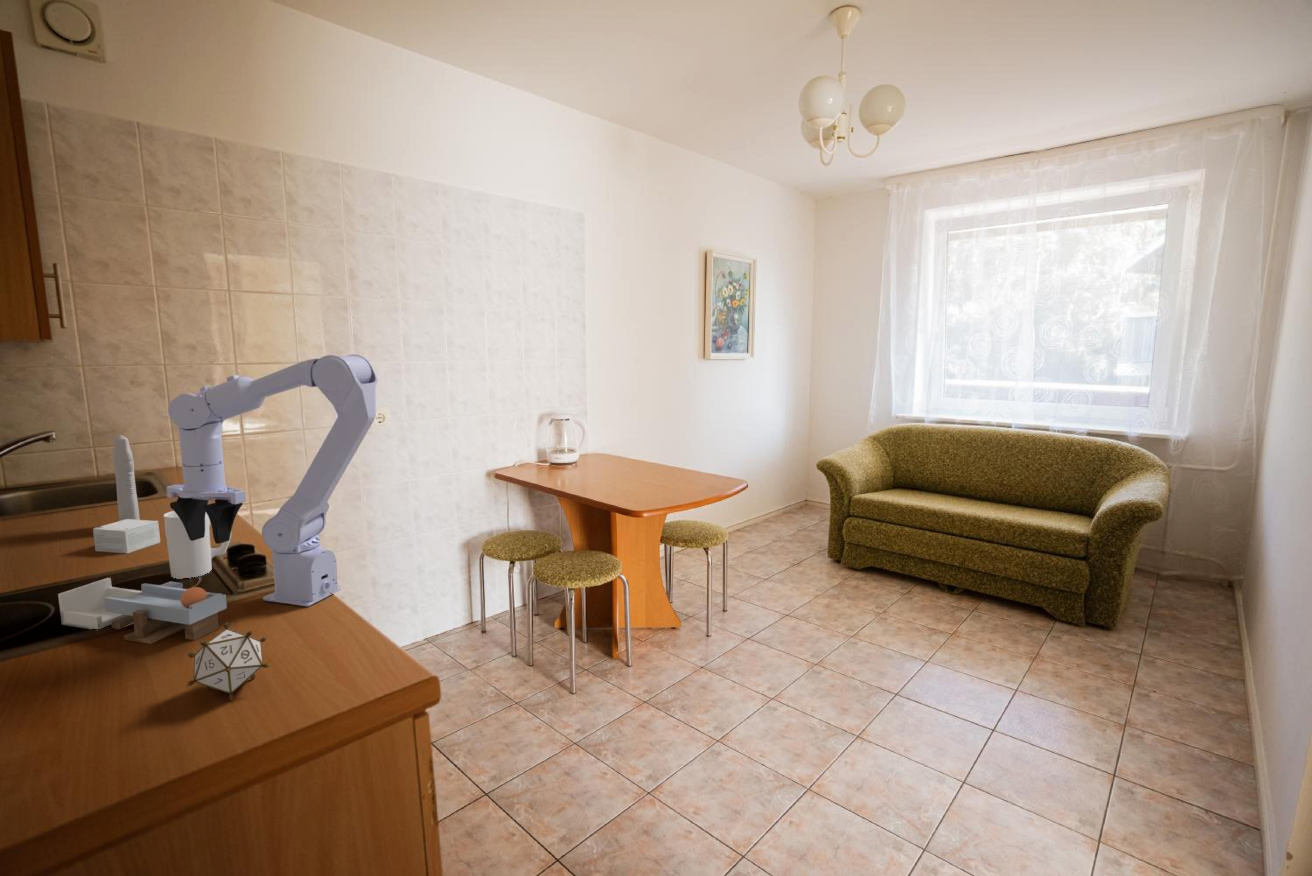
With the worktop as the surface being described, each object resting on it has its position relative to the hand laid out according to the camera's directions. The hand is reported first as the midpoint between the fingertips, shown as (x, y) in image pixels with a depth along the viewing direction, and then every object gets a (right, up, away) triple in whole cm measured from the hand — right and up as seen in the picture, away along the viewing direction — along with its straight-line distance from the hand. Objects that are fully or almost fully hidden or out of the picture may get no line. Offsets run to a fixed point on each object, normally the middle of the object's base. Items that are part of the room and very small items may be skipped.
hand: (209, 540), depth 105 cm
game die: (+23, -15, -27) cm, 38 cm away
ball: (+7, -8, -13) cm, 17 cm away
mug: (-10, -8, +12) cm, 18 cm away
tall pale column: (-46, -4, +37) cm, 59 cm away
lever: (+2, -8, -10) cm, 13 cm away
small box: (-36, -6, +25) cm, 44 cm away
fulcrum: (+2, -12, -11) cm, 16 cm away
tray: (-11, -11, -8) cm, 17 cm away
